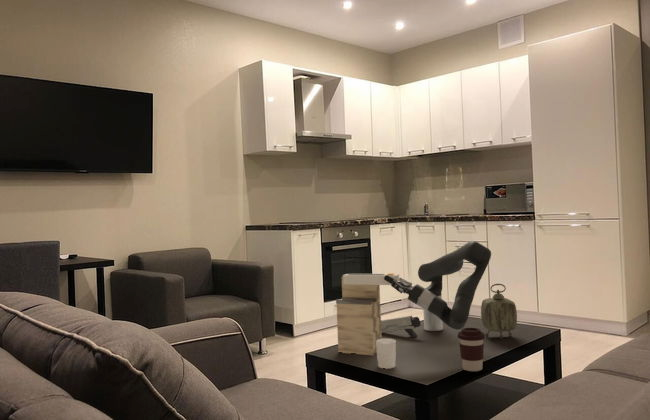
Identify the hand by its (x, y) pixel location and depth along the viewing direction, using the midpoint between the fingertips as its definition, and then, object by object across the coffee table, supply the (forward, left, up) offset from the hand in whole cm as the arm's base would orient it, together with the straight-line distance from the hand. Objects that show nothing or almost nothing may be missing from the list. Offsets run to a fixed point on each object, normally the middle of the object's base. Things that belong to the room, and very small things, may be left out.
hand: (386, 276), depth 225 cm
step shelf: (-2, -14, -33) cm, 36 cm away
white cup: (+16, +4, -33) cm, 37 cm away
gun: (-34, -6, -34) cm, 48 cm away
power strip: (0, -7, -3) cm, 8 cm away
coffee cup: (+10, +36, -33) cm, 50 cm away
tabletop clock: (-41, +41, -33) cm, 67 cm away
